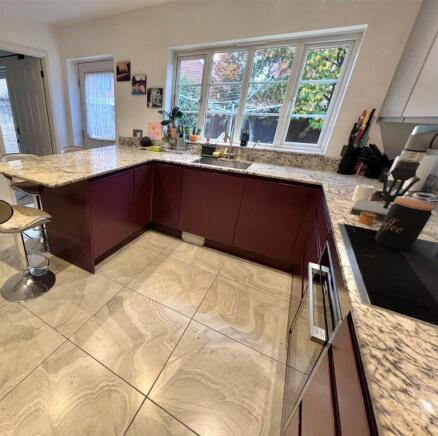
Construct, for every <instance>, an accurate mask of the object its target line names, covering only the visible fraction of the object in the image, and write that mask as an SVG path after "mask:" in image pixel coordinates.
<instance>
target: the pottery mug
mask: <svg viewBox="0 0 438 436" xmlns="http://www.w3.org/2000/svg"><path fill="white" fill-rule="evenodd" d="M385 196H386V194H385V193H383V190H375V191H374V192H372V193H371V195H370V197H369V201H371V202H377V203H380V202H382V203H383V202H384V203H386V201H384V198H385ZM391 203H392V202H390V204H391Z"/></svg>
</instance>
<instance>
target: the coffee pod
mask: <svg viewBox="0 0 438 436" xmlns="http://www.w3.org/2000/svg"><path fill="white" fill-rule="evenodd" d="M375 217H377V215H375V214H373V213H369V212H361V215H360V216H359V217H358V219H357V222H358V223H360V224H363V225H365V226H372V225H373V223H374V221H375Z"/></svg>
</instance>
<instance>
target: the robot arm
mask: <svg viewBox="0 0 438 436" xmlns="http://www.w3.org/2000/svg"><path fill="white" fill-rule="evenodd" d="M428 150H434V151H438V125H425V124H418V125H416V126H414V128H413V129H412V132H411V133H410V134H409V136H408V139H407V142H406V143H405V146H404V148H403V149H402V151H401V153H400V155H399V157H398V160H397V161H396V163H395V164H394V167H393V168H392V169H391V170H390V171H388V172H384V173H383V178H384V179H383V184H382V185H383V187H382V191H383V193H385V194H386V196H385V198H384V201H386V202H384V204H385V205H384V207H383V208H386V209H387V208H388V206H389V204H390V205H391V203H393V204H394V203H395V202H394V200H395V199H396V198H399V197H404V195H405V194H407V192H408V191H410V190H411V188H412V187H413V186H414V185H415V184H416V183H418V182H420V181H421V178H420V177H418V176H417V171H418V170H419V168H420V166H421V162H422V161H423V159H424V158H425V156H426V154H427V153H428ZM390 176H392V179H393V181H392V182H391V184H390V187H389V188H388V182H389V177H390ZM411 179H412V180H411ZM409 180H411V181H410V183H409V184H408V185H407V186H406V187H405V188H404V189H403V190H402V188H403V186H404V184H405V182H407V181H409ZM398 181H400V182H399V184H398V186H397V188H396V190H395V192H394V193H393V194H392V192H393V190H394V188H395V186H396V184H397V182H398ZM387 188H388V189H387ZM390 202H391V203H390Z"/></svg>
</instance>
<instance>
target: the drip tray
mask: <svg viewBox="0 0 438 436" xmlns="http://www.w3.org/2000/svg"><path fill="white" fill-rule="evenodd" d="M361 212H367V211H362V210H356V209H352V208H351V210H350V215H355V216H359V217H360V215H361ZM369 213H373V212H369ZM373 214H375V215H377V217H375V219H374V221H379V222H383V221H384V219H385V217H386V215H384V214H378V213H373Z"/></svg>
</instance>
